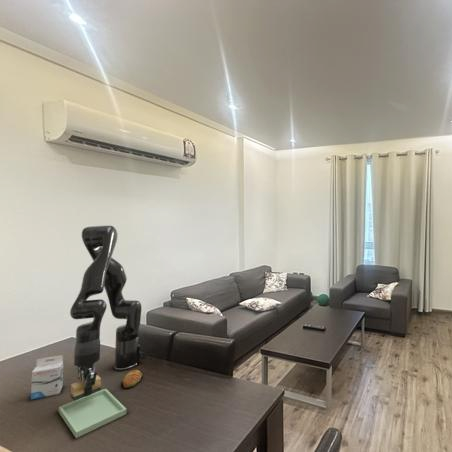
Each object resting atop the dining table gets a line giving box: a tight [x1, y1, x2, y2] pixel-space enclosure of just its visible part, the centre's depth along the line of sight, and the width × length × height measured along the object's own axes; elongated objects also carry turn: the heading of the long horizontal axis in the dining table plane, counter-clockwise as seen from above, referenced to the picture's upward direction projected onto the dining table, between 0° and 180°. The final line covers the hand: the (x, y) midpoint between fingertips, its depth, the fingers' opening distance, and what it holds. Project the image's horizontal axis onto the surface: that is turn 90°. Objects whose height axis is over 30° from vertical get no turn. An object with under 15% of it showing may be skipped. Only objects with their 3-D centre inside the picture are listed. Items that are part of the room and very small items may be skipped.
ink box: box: [30, 354, 64, 401], centre depth 113 cm, size 8×5×15 cm, turn 123°
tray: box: [58, 388, 127, 439], centre depth 103 cm, size 14×21×2 cm
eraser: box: [70, 374, 102, 401], centre depth 106 cm, size 8×4×5 cm, turn 147°
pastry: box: [122, 369, 143, 389], centre depth 122 cm, size 9×7×4 cm
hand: (86, 392), depth 107 cm, fingers closed on eraser, 4 cm apart
